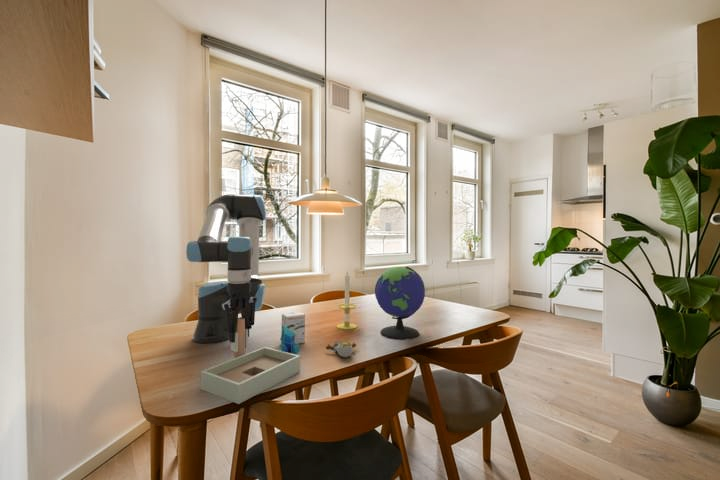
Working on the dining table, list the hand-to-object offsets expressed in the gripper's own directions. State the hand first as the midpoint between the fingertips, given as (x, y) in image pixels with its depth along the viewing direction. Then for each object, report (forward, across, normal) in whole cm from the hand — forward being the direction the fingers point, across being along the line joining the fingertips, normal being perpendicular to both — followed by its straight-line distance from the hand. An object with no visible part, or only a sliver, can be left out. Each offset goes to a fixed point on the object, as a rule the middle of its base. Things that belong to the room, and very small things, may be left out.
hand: (239, 348), depth 113 cm
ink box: (+5, +24, -2) cm, 25 cm away
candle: (+5, +56, -8) cm, 56 cm away
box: (+4, -8, -16) cm, 18 cm away
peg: (+2, 0, 0) cm, 2 cm away
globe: (+5, +58, -34) cm, 68 cm away
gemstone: (+4, +10, -14) cm, 18 cm away
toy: (+5, +26, -26) cm, 37 cm away
